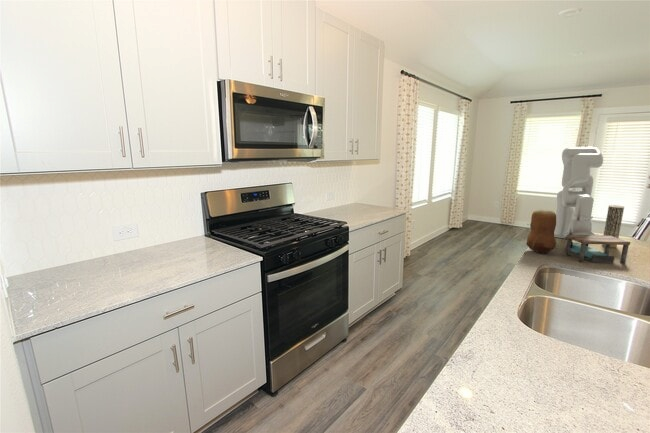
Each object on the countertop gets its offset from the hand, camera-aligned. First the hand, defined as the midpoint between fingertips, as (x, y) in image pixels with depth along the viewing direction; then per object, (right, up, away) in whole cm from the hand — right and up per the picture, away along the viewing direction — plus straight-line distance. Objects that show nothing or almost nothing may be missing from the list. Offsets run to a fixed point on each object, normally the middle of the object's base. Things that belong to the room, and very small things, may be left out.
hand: (577, 247), depth 180 cm
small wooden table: (-1, -5, -13) cm, 14 cm away
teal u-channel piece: (-1, -3, -6) cm, 7 cm away
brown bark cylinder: (+27, 0, +9) cm, 29 cm away
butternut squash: (-23, -3, -1) cm, 23 cm away
